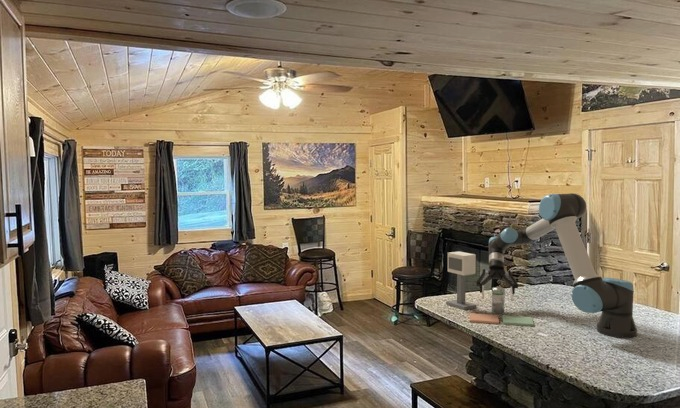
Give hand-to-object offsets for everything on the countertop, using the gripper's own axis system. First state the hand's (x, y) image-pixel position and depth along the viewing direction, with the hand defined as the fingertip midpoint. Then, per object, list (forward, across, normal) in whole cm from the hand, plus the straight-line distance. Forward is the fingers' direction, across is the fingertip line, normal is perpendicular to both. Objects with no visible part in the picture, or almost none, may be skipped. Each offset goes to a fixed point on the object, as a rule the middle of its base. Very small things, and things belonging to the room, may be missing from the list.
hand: (497, 298), depth 247 cm
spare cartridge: (+5, 0, -4) cm, 7 cm away
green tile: (+15, -8, +5) cm, 18 cm away
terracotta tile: (+15, +6, +6) cm, 17 cm away
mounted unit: (-1, +18, -10) cm, 20 cm away
